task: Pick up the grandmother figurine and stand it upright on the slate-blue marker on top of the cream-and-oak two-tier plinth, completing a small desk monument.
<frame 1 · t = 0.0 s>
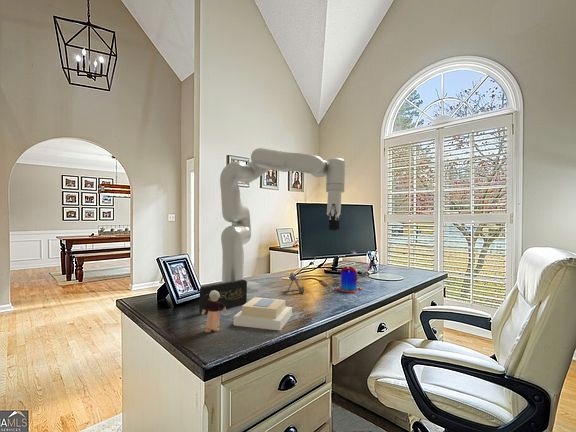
hand: (334, 229, 131), 31 cm above the table, tool pointing down, fingers open, 9 cm apart
fantasy tower: (348, 290, 158), on the table
plinth: (264, 320, 110), on the table
nameplate: (224, 309, 122), on the table
portable electronic device stand: (295, 292, 152), on the table
grandmother figurine: (214, 330, 99), on the table
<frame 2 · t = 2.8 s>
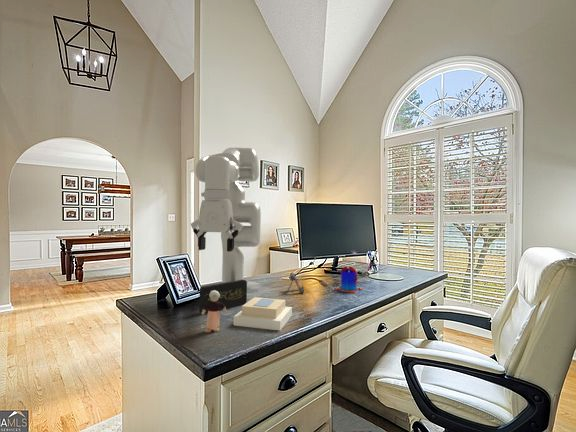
hand: (215, 250, 99), 25 cm above the table, tool pointing down, fingers open, 9 cm apart
nothing on the table moved.
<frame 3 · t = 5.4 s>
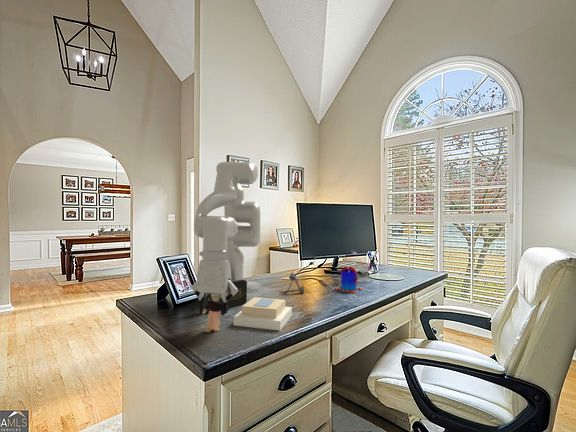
hand: (213, 312, 99), 6 cm above the table, tool pointing down, fingers closed on grandmother figurine, 6 cm apart
grandmother figurine: (214, 330, 99), on the table, touching gripper
everything else where it was.
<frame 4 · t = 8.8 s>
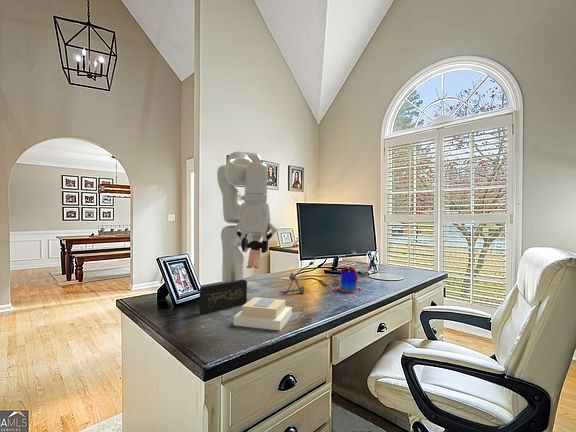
hand: (254, 251, 107), 24 cm above the table, tool pointing down, fingers closed on grandmother figurine, 6 cm apart
grandmother figurine: (254, 268, 108), point 18 cm above the table, touching gripper
everything else where it was.
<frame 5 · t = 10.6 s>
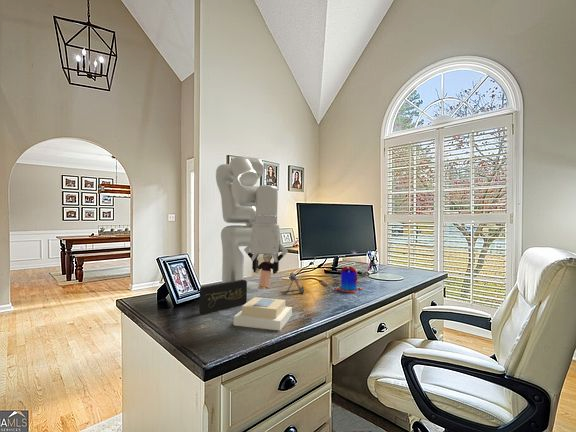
hand: (265, 272, 110), 17 cm above the table, tool pointing down, fingers closed on grandmother figurine, 6 cm apart
grandmother figurine: (265, 288, 110), point 11 cm above the table, touching gripper
everything else where it was.
when the fingers open (13 cm above the table, at t = 12.0 s): grandmother figurine stays where it is, resting on plinth.
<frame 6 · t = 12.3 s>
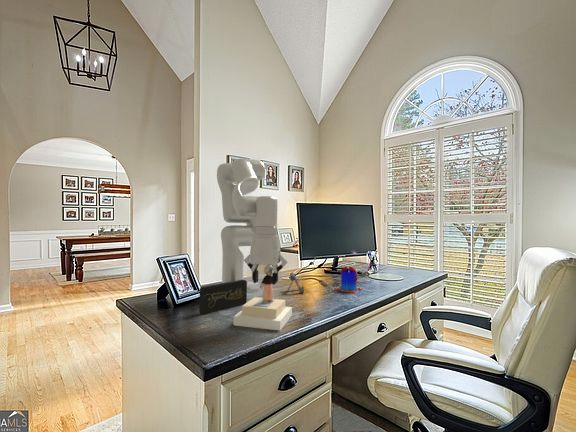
hand: (265, 282, 110), 13 cm above the table, tool pointing down, fingers open, 6 cm apart
grandmother figurine: (268, 301, 111), point 6 cm above the table, touching plinth
everything else where it was.
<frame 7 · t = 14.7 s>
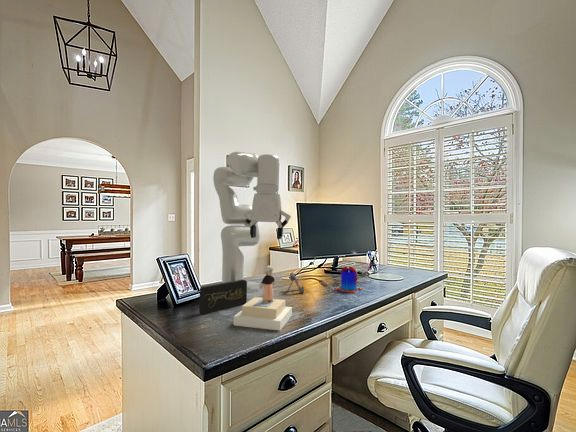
hand: (266, 238, 112), 28 cm above the table, tool pointing down, fingers open, 9 cm apart
nothing on the table moved.
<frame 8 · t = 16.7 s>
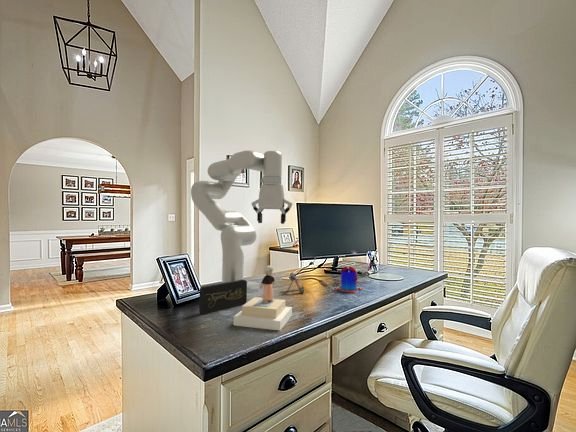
hand: (271, 223, 129), 33 cm above the table, tool pointing down, fingers open, 9 cm apart
nothing on the table moved.
at the end: grandmother figurine inside the target area on the plinth (1.7 cm from its centre), point 6.0 cm above the plinth's base; grandmother figurine tilted 0°; the gripper is holding nothing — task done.
